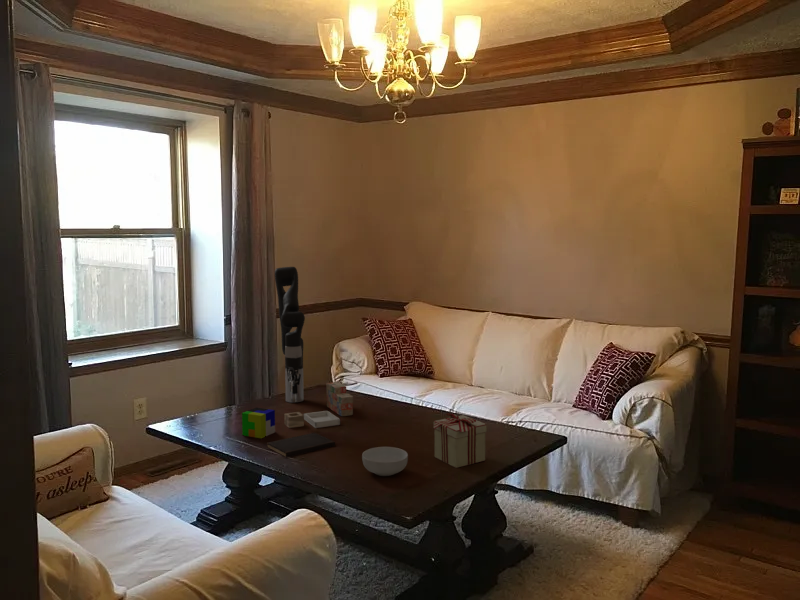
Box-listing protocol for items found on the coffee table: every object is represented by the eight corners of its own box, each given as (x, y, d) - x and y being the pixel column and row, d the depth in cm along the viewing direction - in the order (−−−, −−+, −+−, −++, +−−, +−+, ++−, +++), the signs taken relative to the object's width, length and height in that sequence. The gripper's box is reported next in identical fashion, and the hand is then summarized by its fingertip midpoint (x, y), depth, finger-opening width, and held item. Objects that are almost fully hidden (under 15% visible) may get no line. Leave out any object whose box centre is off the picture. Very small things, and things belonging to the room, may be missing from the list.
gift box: (425, 459, 262) (426, 416, 260) (460, 450, 273) (461, 408, 271) (454, 471, 248) (455, 426, 246) (490, 461, 259) (491, 418, 258)
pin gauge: (290, 401, 307) (289, 375, 305) (295, 400, 308) (295, 374, 306) (292, 402, 304) (291, 376, 303) (297, 401, 306) (297, 376, 304)
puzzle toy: (275, 432, 296) (274, 410, 295) (261, 438, 287) (260, 415, 286) (256, 429, 300) (256, 407, 299) (242, 435, 291) (241, 413, 290)
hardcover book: (266, 448, 276) (266, 442, 275) (314, 437, 290) (314, 432, 290) (286, 458, 263) (286, 453, 263) (335, 447, 278) (335, 441, 277)
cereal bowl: (352, 474, 245) (352, 455, 244) (379, 461, 259) (379, 443, 258) (391, 484, 236) (391, 464, 235) (416, 470, 250) (416, 452, 249)
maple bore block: (284, 424, 309) (284, 413, 308) (298, 422, 312) (298, 411, 311) (289, 428, 302) (288, 417, 302) (303, 426, 306) (303, 415, 305)
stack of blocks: (353, 415, 324) (353, 390, 323) (341, 416, 321) (341, 391, 320) (338, 404, 343) (337, 381, 342) (326, 406, 340) (326, 382, 339)
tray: (303, 419, 316) (303, 413, 316) (327, 416, 322) (327, 410, 322) (315, 428, 302) (315, 422, 302) (340, 424, 308) (340, 419, 307)
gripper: (280, 353, 308) (281, 390, 310) (290, 359, 296) (290, 397, 298) (296, 352, 312) (296, 388, 314) (306, 357, 299) (306, 395, 301)
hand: (293, 392), depth 306 cm, fingers closed on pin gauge, 2 cm apart
